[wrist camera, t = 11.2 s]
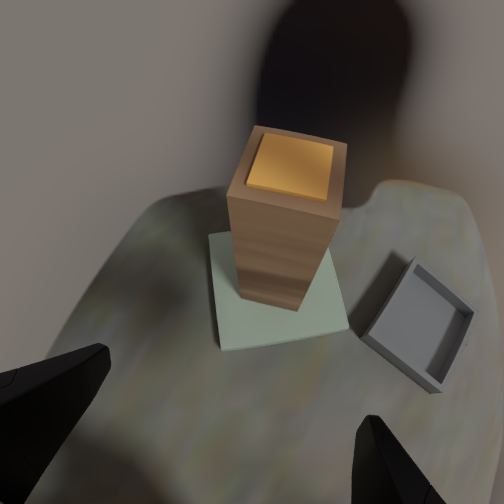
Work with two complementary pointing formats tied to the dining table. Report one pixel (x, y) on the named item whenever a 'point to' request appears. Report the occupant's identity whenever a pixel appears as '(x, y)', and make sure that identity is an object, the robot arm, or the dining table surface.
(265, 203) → the walnut box
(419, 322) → the grey square tray
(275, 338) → the sage pad
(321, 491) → the dining table surface
